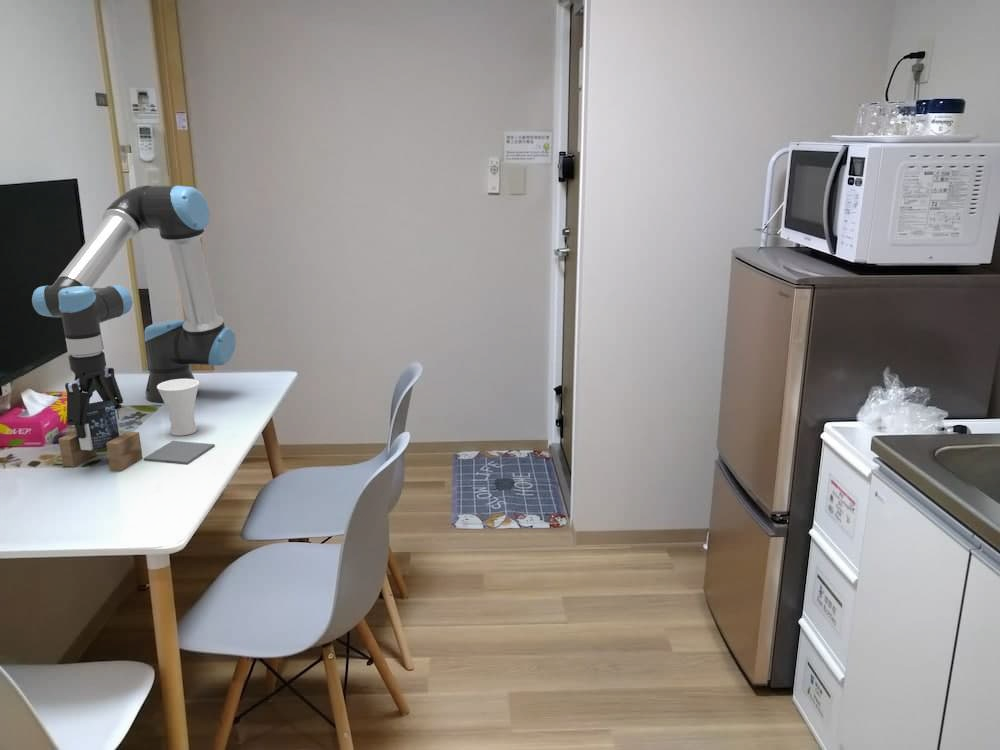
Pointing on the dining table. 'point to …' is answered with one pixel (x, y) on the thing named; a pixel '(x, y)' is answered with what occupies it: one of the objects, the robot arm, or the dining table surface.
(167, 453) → the mat
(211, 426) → the dining table surface
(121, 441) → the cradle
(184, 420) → the cup
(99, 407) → the box
